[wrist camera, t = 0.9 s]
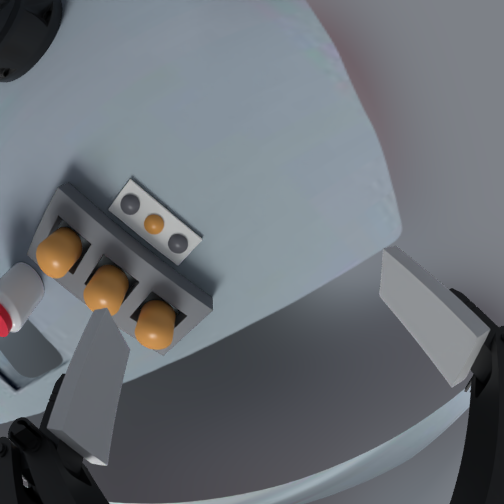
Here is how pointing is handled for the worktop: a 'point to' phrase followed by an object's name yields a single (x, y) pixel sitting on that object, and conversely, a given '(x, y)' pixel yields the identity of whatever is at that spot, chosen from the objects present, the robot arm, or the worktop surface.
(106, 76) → the worktop surface
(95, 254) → the board
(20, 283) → the pill bottle
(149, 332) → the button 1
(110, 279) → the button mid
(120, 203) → the pattern card
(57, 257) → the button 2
